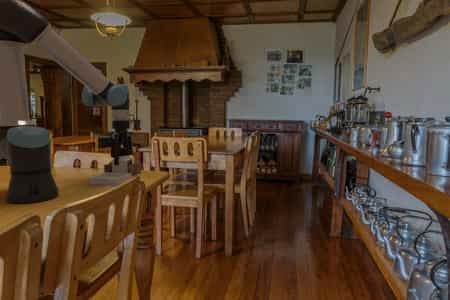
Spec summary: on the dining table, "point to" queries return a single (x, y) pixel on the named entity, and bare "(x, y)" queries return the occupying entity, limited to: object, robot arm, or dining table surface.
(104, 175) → the tray
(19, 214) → the dining table surface
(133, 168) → the rack
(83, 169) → the dining table surface
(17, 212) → the dining table surface
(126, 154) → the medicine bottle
